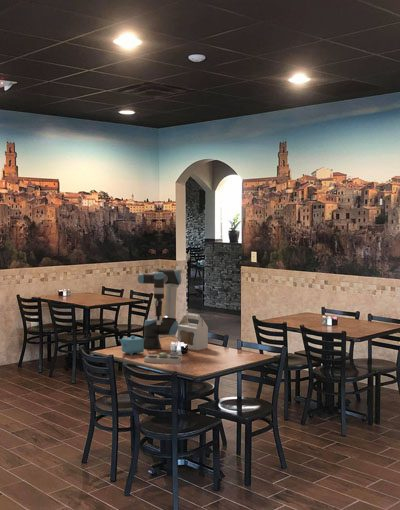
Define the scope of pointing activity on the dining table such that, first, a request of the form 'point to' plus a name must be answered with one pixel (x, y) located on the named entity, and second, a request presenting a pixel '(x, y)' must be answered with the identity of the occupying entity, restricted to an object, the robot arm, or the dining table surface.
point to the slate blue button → (173, 353)
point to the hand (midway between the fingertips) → (158, 324)
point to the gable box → (198, 329)
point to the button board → (163, 359)
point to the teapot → (132, 345)
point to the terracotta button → (152, 352)
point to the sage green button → (162, 354)
